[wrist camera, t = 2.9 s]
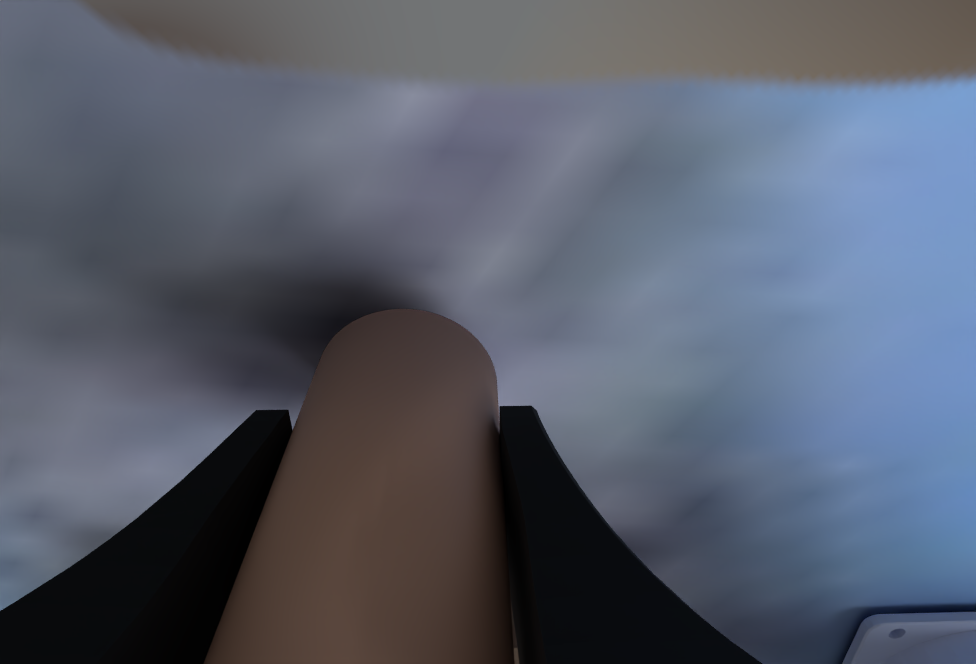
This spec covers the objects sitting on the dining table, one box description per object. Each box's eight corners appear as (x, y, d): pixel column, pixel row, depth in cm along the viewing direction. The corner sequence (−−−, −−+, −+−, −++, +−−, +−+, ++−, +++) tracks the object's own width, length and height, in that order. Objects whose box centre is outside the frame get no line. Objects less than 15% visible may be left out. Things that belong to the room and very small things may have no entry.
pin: (497, 307, 13) (527, 690, 6) (496, 455, 15) (518, 868, 8) (304, 309, 13) (114, 700, 6) (329, 457, 15) (207, 878, 8)
